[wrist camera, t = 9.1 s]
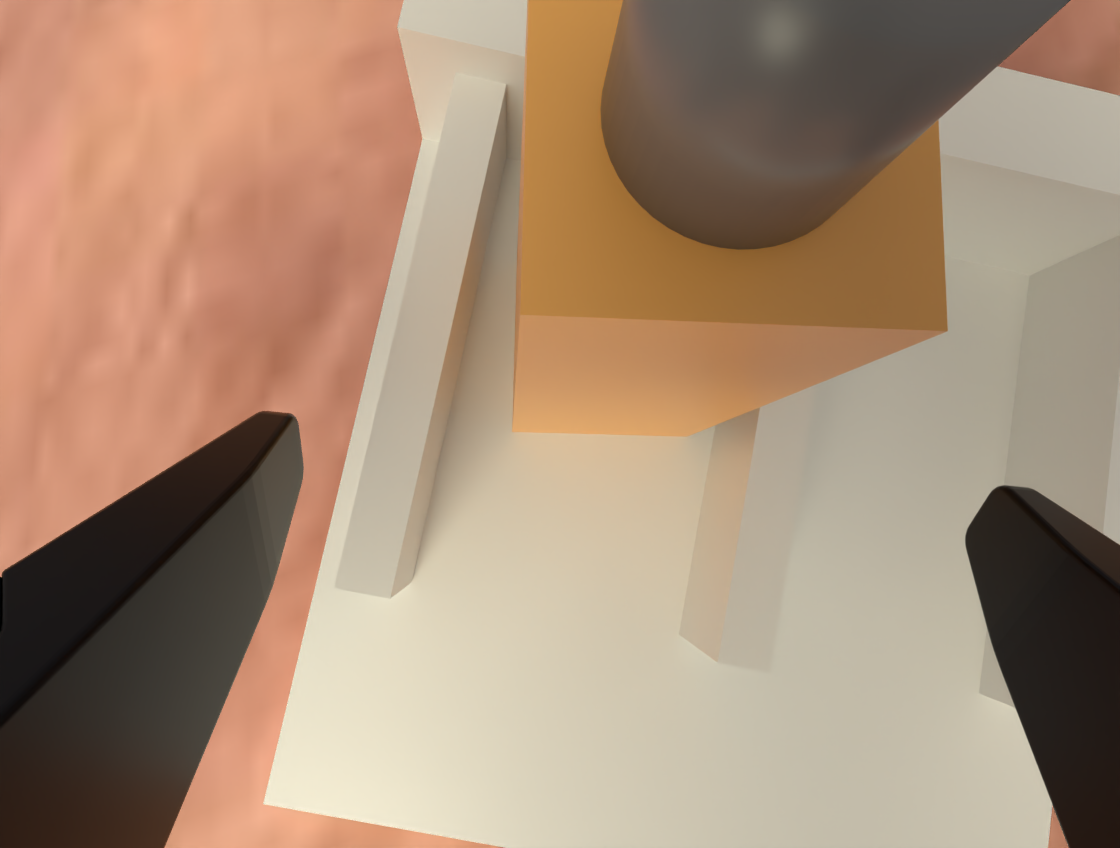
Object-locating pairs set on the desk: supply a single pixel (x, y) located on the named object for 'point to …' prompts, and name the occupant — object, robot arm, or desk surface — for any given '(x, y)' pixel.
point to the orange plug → (732, 198)
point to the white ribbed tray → (702, 524)
